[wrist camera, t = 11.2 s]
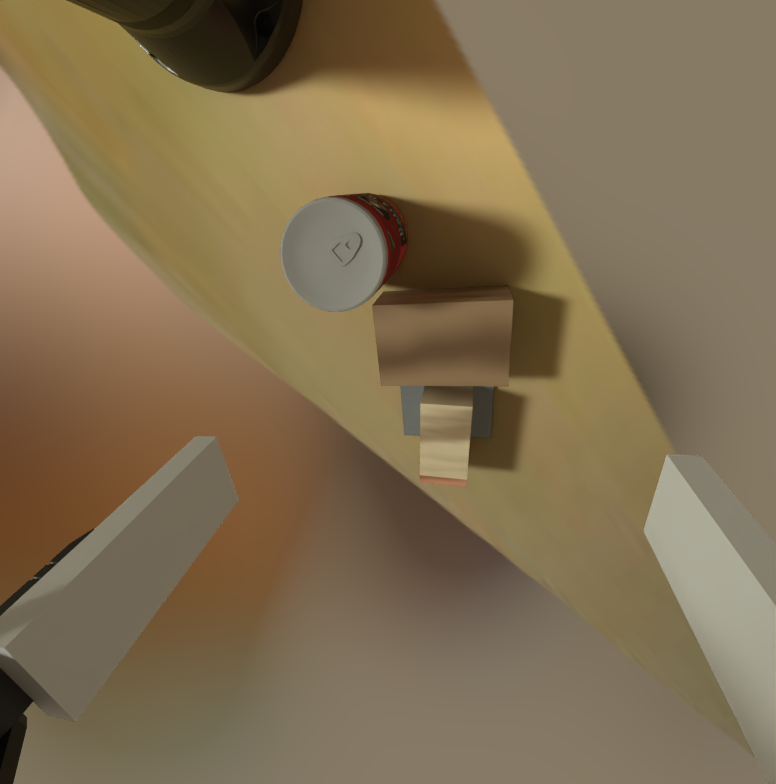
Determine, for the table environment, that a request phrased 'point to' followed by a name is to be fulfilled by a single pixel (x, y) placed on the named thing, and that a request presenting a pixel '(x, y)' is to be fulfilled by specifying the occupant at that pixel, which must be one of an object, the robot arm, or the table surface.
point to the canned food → (342, 249)
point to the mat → (480, 411)
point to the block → (445, 434)
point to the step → (444, 336)
